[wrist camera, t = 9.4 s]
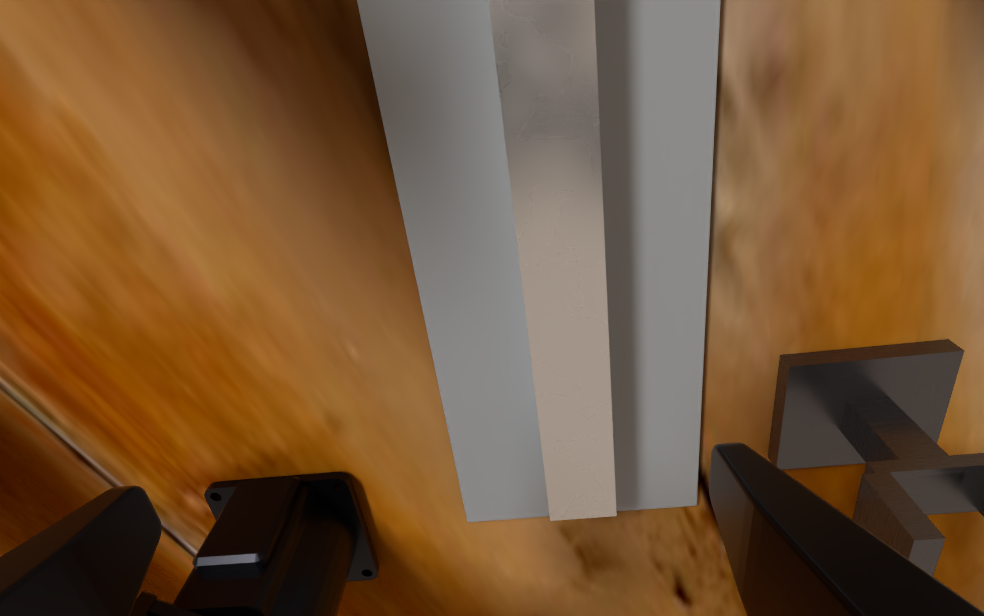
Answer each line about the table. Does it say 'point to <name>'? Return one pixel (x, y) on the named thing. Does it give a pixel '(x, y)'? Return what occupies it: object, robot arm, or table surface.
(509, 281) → the mat
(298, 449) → the table surface
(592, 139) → the rail
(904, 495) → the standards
